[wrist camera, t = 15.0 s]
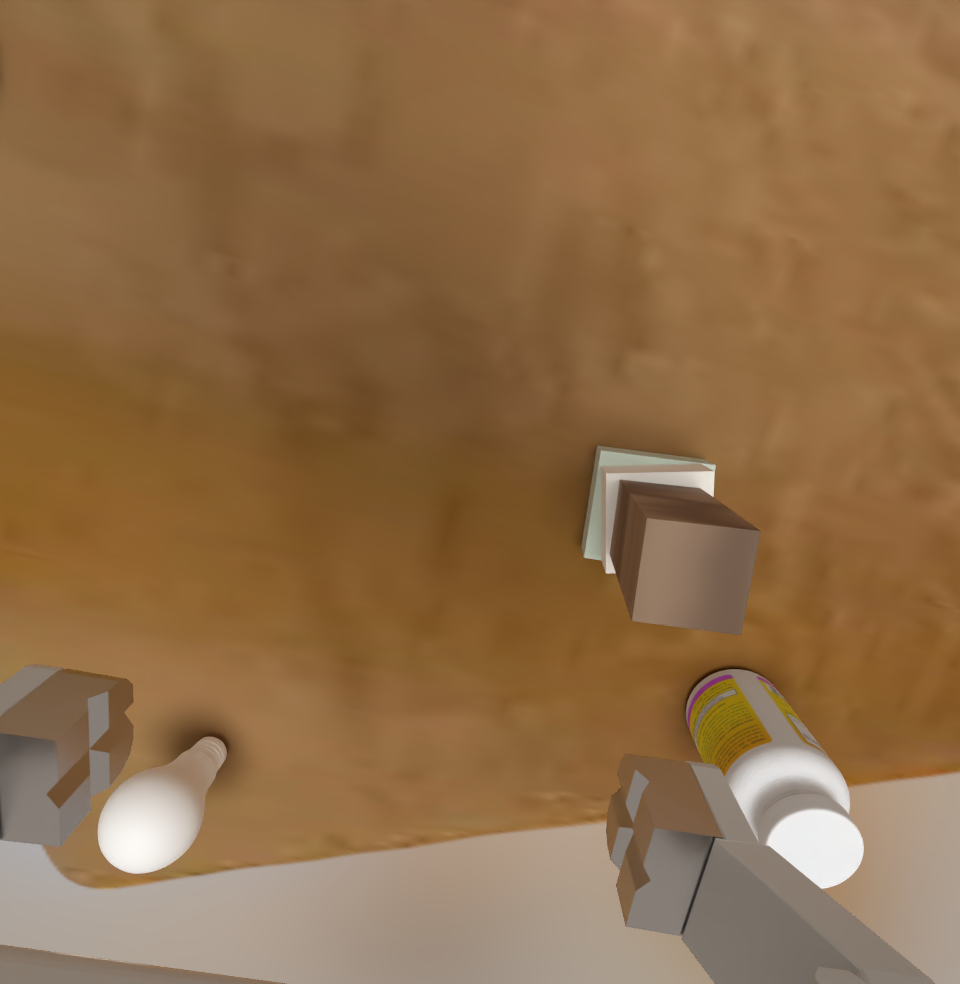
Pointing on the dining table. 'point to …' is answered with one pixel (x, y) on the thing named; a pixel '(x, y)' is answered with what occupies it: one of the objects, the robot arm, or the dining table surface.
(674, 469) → the tower cap
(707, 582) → the walnut post
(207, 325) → the dining table surface
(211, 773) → the lightbulb
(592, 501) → the tower base
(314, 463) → the dining table surface
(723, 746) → the supplement bottle
